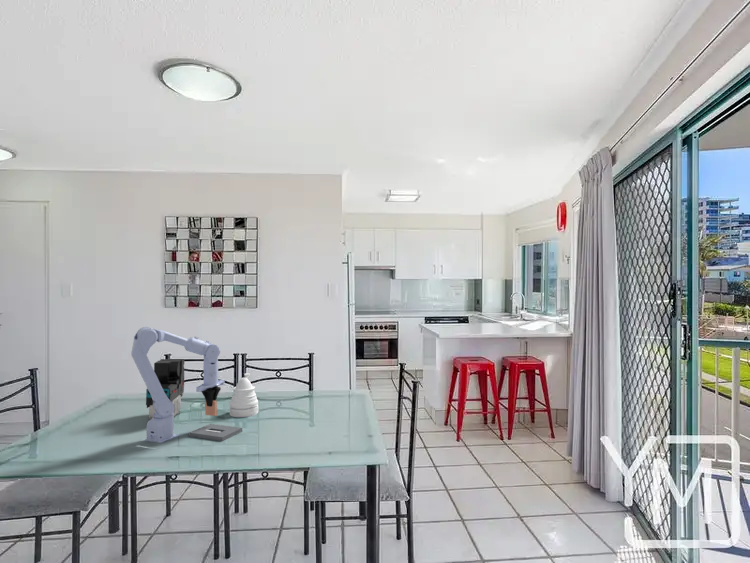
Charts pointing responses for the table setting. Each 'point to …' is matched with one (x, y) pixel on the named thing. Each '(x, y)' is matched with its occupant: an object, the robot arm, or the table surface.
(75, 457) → the table surface
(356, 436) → the table surface
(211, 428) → the gray slotted plate
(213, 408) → the upright peach slab
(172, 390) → the bill acceptor
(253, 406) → the honey pot
